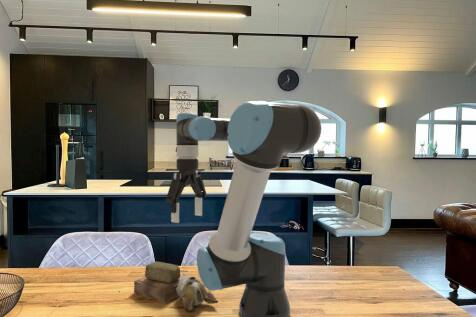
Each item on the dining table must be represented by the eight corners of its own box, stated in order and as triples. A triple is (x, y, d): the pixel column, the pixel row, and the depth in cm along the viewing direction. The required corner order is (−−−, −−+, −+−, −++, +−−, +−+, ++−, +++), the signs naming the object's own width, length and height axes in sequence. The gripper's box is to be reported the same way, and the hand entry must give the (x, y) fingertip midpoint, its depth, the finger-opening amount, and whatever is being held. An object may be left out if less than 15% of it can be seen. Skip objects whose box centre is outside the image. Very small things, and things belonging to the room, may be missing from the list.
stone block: (171, 285, 116) (171, 270, 116) (143, 279, 120) (143, 264, 120) (181, 279, 121) (181, 264, 121) (153, 273, 126) (153, 259, 126)
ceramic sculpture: (198, 266, 121) (220, 283, 109) (197, 290, 122) (219, 310, 110) (168, 272, 115) (188, 291, 103) (168, 297, 116) (188, 320, 104)
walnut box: (189, 290, 122) (189, 278, 122) (164, 303, 112) (164, 290, 112) (159, 281, 130) (159, 269, 129) (134, 292, 120) (134, 280, 119)
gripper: (198, 157, 137) (198, 212, 138) (154, 158, 115) (154, 224, 116) (215, 157, 133) (215, 213, 134) (173, 159, 111) (173, 226, 112)
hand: (187, 218), depth 125 cm, fingers open, 13 cm apart
